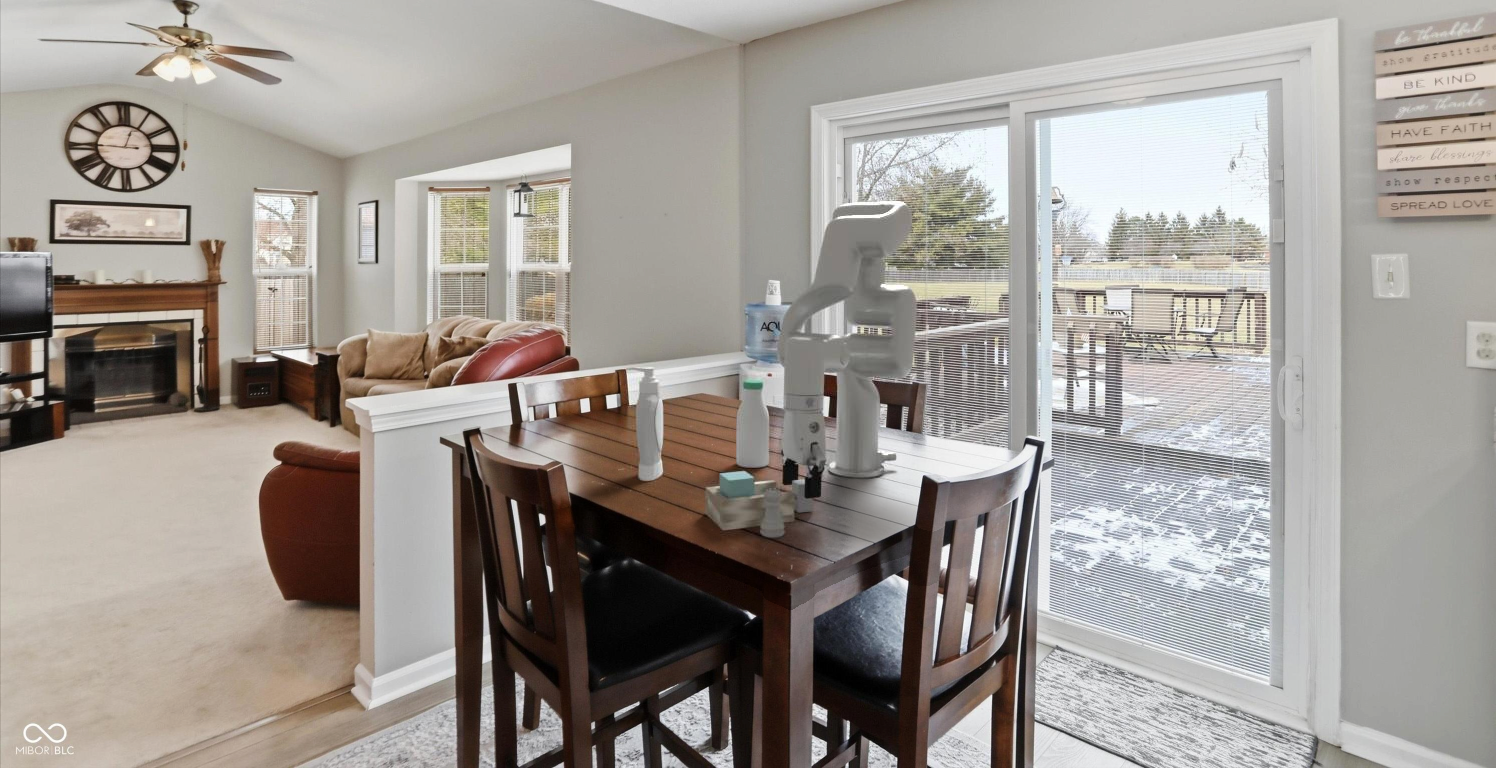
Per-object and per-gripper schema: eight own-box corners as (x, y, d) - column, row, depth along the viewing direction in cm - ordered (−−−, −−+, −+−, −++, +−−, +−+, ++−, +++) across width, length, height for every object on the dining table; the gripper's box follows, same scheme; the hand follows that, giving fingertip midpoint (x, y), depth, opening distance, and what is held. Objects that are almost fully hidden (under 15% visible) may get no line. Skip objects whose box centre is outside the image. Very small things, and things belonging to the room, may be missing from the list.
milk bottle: (769, 468, 176) (769, 383, 173) (735, 468, 176) (736, 383, 173) (768, 460, 184) (769, 378, 181) (736, 460, 184) (737, 378, 181)
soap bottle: (635, 466, 177) (633, 363, 174) (668, 468, 177) (667, 363, 173) (620, 482, 165) (618, 371, 161) (655, 483, 164) (654, 371, 160)
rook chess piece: (768, 527, 137) (769, 484, 136) (789, 532, 134) (790, 489, 133) (754, 535, 133) (755, 490, 132) (776, 540, 131) (776, 495, 130)
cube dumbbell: (803, 504, 149) (804, 464, 148) (814, 512, 145) (815, 471, 144) (719, 515, 143) (719, 473, 142) (728, 523, 138) (728, 480, 137)
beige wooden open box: (772, 505, 150) (772, 479, 149) (794, 520, 141) (794, 493, 140) (705, 513, 145) (705, 487, 144) (723, 530, 135) (723, 502, 135)
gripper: (843, 408, 137) (840, 501, 139) (801, 395, 152) (799, 478, 155) (805, 410, 134) (803, 505, 136) (766, 396, 150) (765, 481, 152)
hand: (801, 490), depth 145 cm, fingers open, 9 cm apart
